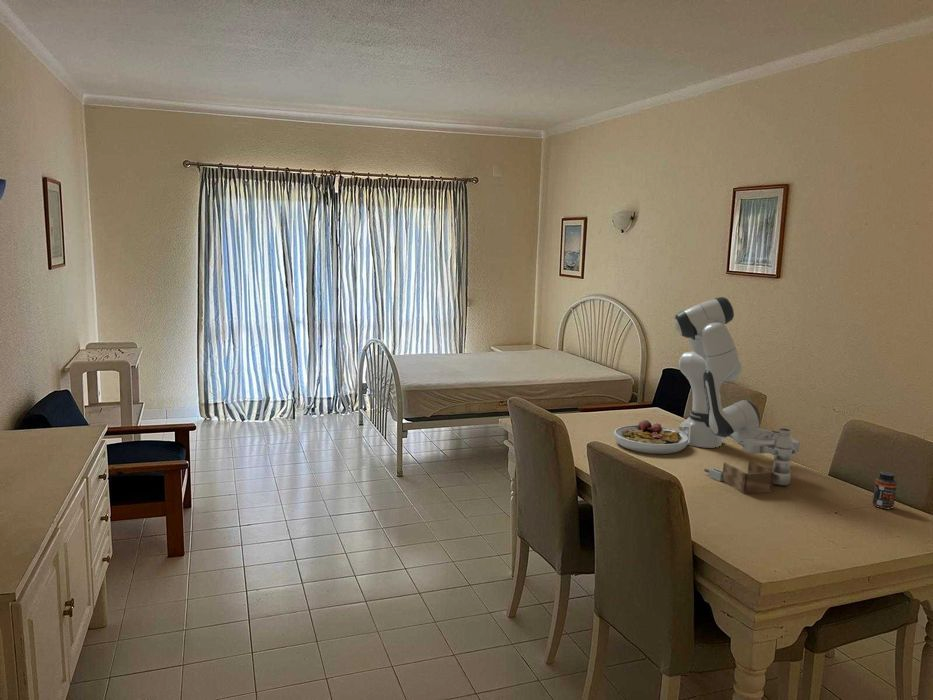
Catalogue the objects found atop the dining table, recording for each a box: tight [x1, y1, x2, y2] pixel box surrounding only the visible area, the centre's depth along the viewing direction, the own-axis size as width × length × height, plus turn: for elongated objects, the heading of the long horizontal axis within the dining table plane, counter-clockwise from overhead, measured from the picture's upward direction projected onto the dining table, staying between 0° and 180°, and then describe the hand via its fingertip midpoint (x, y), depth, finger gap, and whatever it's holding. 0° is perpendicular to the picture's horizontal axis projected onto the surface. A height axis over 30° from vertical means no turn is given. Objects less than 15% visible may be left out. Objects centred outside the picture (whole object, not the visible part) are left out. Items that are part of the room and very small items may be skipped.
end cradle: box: [721, 461, 774, 495], centre depth 244 cm, size 13×11×7 cm
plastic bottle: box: [771, 427, 793, 486], centre depth 246 cm, size 6×7×20 cm
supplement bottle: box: [872, 471, 897, 508], centre depth 228 cm, size 6×6×11 cm
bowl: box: [613, 419, 688, 455], centre depth 293 cm, size 30×30×8 cm
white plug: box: [704, 467, 723, 482], centre depth 252 cm, size 11×3×3 cm, turn 32°
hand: (784, 452), depth 245 cm, fingers closed on plastic bottle, 6 cm apart
